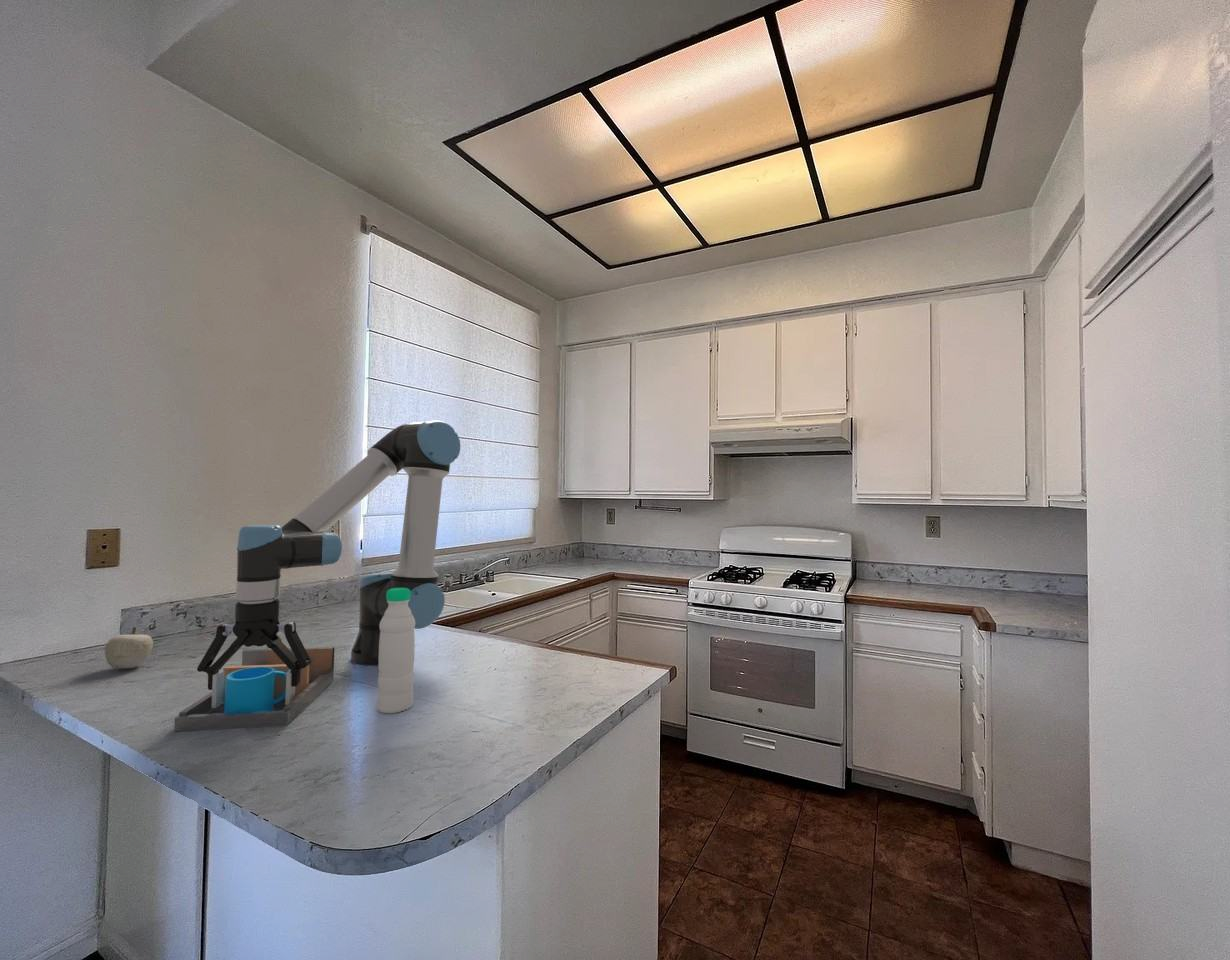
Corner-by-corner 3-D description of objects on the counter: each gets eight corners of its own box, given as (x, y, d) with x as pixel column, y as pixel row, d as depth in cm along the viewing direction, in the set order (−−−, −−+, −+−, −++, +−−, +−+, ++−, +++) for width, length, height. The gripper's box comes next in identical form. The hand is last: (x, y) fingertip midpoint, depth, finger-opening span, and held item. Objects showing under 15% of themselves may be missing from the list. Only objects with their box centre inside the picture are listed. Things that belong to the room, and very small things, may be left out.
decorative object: (102, 676, 124) (104, 634, 125) (105, 667, 131) (107, 627, 131) (152, 669, 130) (153, 629, 130) (152, 660, 137) (154, 622, 137)
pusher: (313, 691, 117) (315, 659, 117) (306, 698, 113) (307, 665, 113) (233, 694, 114) (234, 661, 114) (222, 702, 110) (223, 668, 110)
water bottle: (377, 717, 105) (381, 593, 106) (375, 704, 111) (379, 587, 112) (414, 711, 108) (418, 590, 109) (411, 699, 115) (414, 585, 115)
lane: (333, 680, 125) (334, 646, 125) (287, 725, 101) (288, 683, 101) (243, 684, 121) (245, 649, 122) (174, 731, 97) (176, 688, 98)
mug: (232, 726, 100) (234, 683, 100) (217, 715, 105) (219, 674, 105) (300, 706, 110) (301, 667, 110) (283, 697, 115) (284, 659, 115)
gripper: (329, 595, 114) (326, 693, 113) (201, 597, 109) (197, 699, 109) (315, 602, 106) (312, 707, 106) (178, 604, 102) (173, 714, 101)
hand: (254, 703), depth 107 cm, fingers open, 13 cm apart
